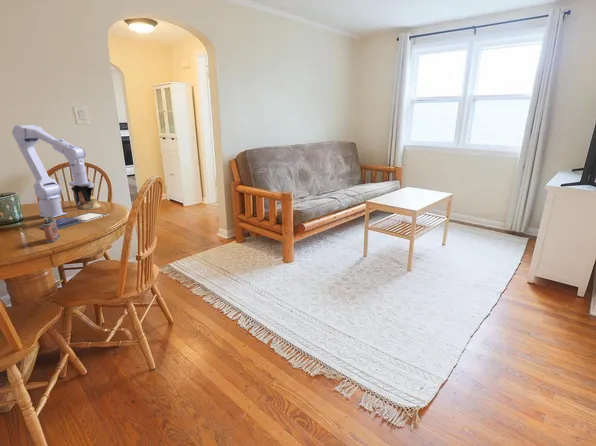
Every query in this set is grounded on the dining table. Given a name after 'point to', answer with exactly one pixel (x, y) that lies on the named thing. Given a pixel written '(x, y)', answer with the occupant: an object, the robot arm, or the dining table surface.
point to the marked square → (89, 216)
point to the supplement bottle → (76, 199)
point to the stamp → (83, 202)
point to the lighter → (50, 229)
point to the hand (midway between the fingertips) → (85, 201)
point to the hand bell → (94, 201)
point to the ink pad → (65, 222)
